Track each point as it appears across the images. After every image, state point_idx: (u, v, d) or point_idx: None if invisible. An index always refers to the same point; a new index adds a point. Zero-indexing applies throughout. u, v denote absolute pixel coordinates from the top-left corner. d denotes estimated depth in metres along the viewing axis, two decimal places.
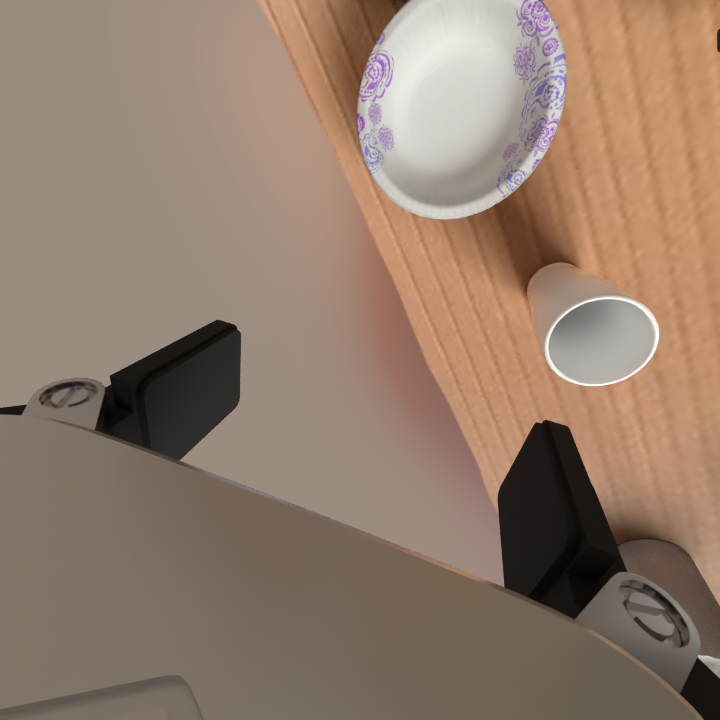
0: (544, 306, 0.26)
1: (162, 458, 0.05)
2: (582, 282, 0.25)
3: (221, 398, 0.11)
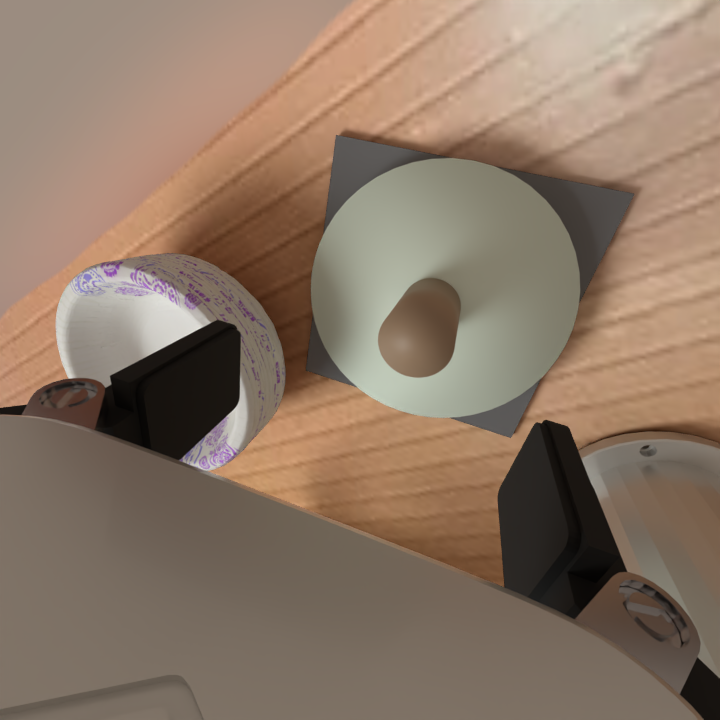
0: None
1: (163, 457, 0.05)
2: None
3: (221, 398, 0.11)
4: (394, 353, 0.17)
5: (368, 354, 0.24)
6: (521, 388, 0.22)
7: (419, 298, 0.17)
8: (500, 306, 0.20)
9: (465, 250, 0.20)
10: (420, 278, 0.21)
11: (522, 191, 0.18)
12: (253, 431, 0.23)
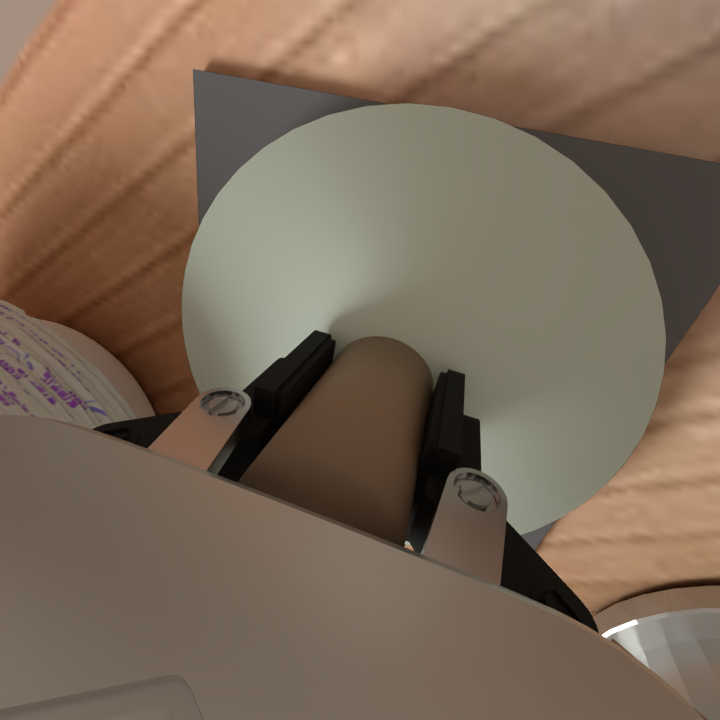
0: None
1: (163, 457, 0.05)
2: None
3: None
4: None
5: None
6: (540, 519, 0.13)
7: (327, 417, 0.07)
8: (505, 391, 0.11)
9: (439, 289, 0.10)
10: (360, 336, 0.12)
11: (554, 173, 0.08)
12: None
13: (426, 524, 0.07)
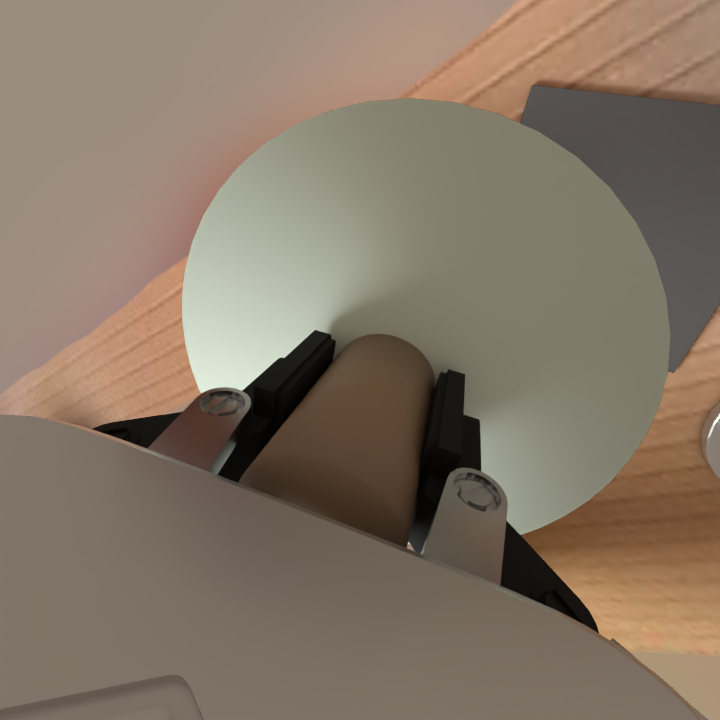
0: None
1: (163, 458, 0.05)
2: None
3: None
4: None
5: None
6: (543, 518, 0.13)
7: (329, 414, 0.07)
8: (507, 389, 0.11)
9: (441, 286, 0.10)
10: (362, 333, 0.12)
11: (558, 169, 0.08)
12: None
13: (426, 524, 0.07)
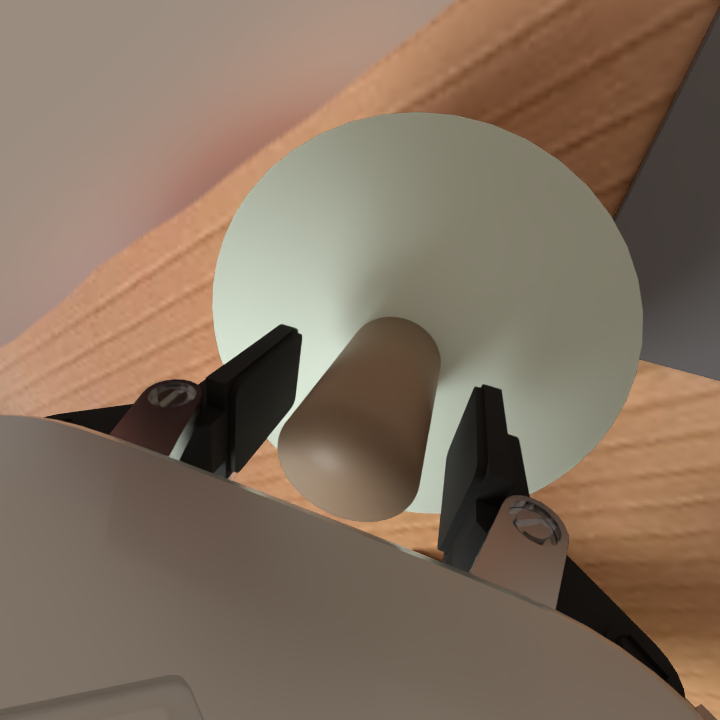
0: None
1: (163, 457, 0.05)
2: None
3: (283, 398, 0.12)
4: (310, 479, 0.09)
5: None
6: (537, 482, 0.14)
7: (354, 375, 0.09)
8: (504, 364, 0.13)
9: (445, 273, 0.12)
10: (375, 317, 0.13)
11: (545, 170, 0.10)
12: None
13: (476, 555, 0.07)
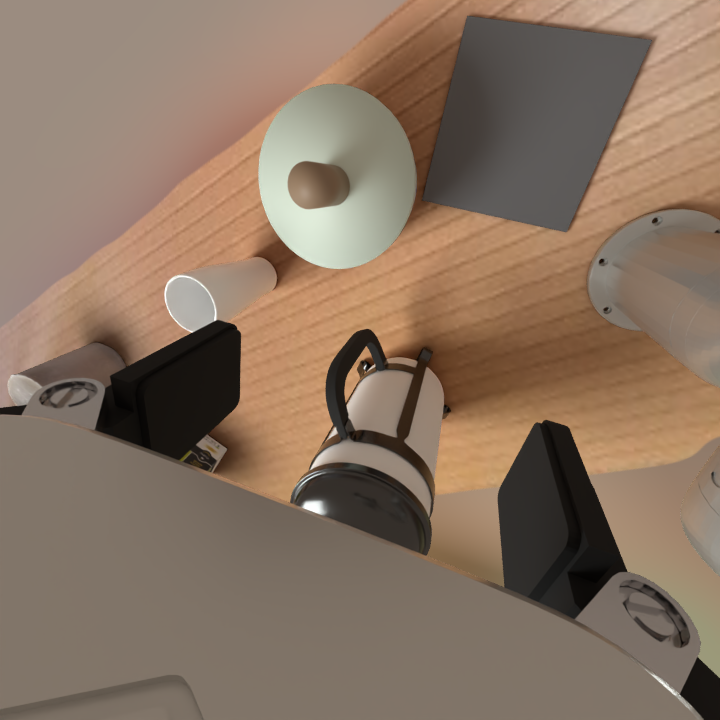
0: (213, 270, 0.39)
1: (163, 458, 0.05)
2: (233, 290, 0.40)
3: (221, 398, 0.11)
4: (297, 194, 0.30)
5: (298, 225, 0.37)
6: (391, 238, 0.35)
7: None
8: (372, 181, 0.33)
9: (347, 143, 0.32)
10: None
11: (373, 103, 0.31)
12: None
13: None
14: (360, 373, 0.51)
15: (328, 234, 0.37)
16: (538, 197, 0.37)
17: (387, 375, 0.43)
